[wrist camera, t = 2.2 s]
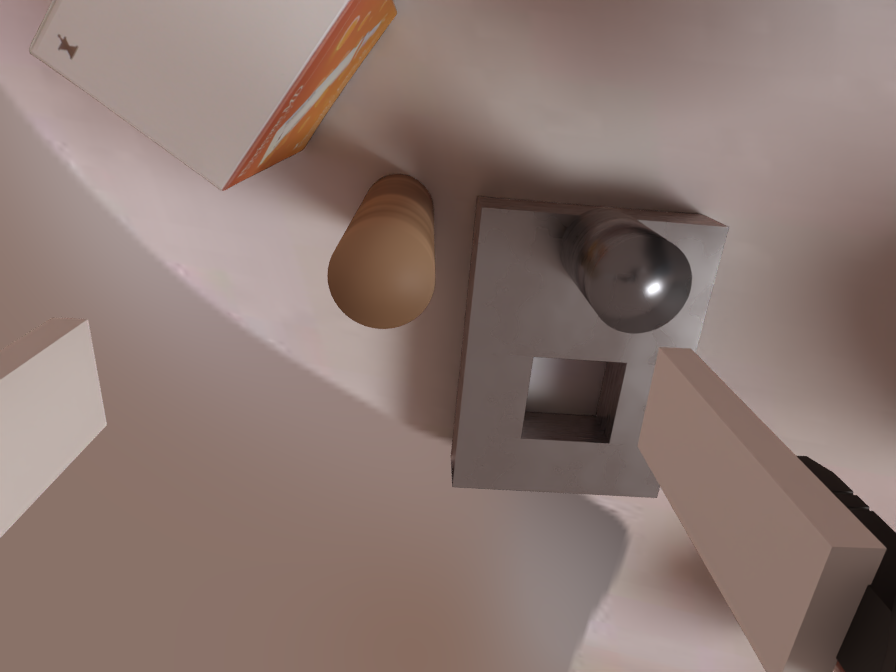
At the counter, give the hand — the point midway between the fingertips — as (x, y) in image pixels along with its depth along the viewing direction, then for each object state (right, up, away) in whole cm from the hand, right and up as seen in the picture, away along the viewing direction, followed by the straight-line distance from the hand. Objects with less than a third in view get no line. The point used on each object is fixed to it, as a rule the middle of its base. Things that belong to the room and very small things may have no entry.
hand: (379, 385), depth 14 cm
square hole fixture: (+8, +1, +20) cm, 22 cm away
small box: (-6, +15, +14) cm, 21 cm away
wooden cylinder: (-1, +8, +17) cm, 19 cm away
